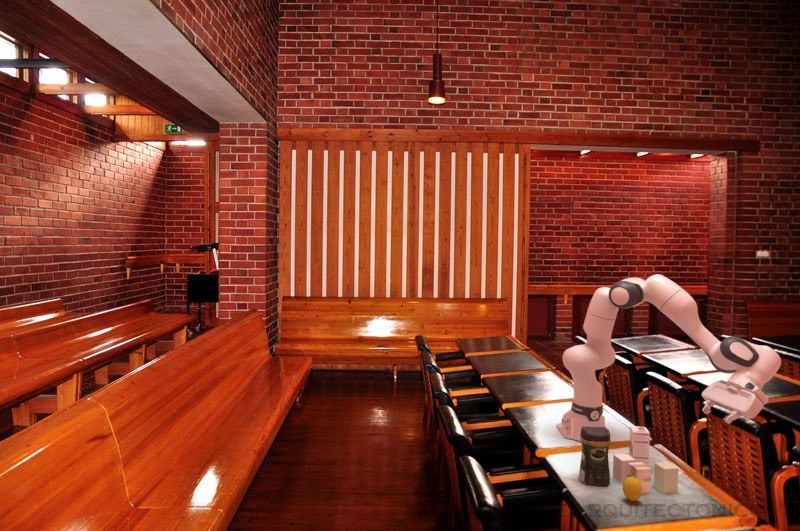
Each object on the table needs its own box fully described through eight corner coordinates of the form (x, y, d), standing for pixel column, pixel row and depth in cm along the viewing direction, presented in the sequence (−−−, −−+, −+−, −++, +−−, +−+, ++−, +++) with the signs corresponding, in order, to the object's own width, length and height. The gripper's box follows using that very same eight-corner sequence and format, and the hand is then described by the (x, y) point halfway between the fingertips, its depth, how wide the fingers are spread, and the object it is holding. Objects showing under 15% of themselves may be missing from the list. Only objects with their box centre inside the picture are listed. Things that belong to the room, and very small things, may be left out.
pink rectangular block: (612, 477, 184) (613, 454, 183) (625, 476, 185) (626, 454, 184) (621, 484, 179) (621, 460, 178) (634, 483, 180) (635, 459, 179)
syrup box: (649, 472, 188) (650, 432, 187) (631, 470, 189) (633, 430, 189) (645, 465, 194) (646, 426, 193) (628, 464, 195) (629, 425, 194)
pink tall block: (627, 486, 177) (628, 463, 177) (641, 485, 178) (641, 462, 177) (636, 493, 172) (637, 469, 172) (650, 492, 173) (651, 468, 173)
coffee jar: (604, 476, 184) (606, 423, 183) (612, 487, 176) (614, 432, 175) (576, 475, 185) (577, 422, 184) (582, 485, 177) (584, 431, 176)
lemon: (625, 495, 171) (626, 470, 170) (643, 501, 167) (644, 476, 167) (619, 501, 166) (620, 476, 166) (638, 507, 163) (639, 482, 163)
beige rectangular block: (653, 486, 178) (654, 462, 177) (667, 485, 178) (668, 461, 178) (663, 493, 173) (664, 469, 172) (677, 492, 173) (678, 468, 173)
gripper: (713, 373, 188) (687, 401, 187) (761, 389, 168) (733, 420, 167) (724, 385, 189) (698, 413, 188) (773, 402, 169) (744, 434, 168)
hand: (715, 417), depth 177 cm, fingers open, 8 cm apart
